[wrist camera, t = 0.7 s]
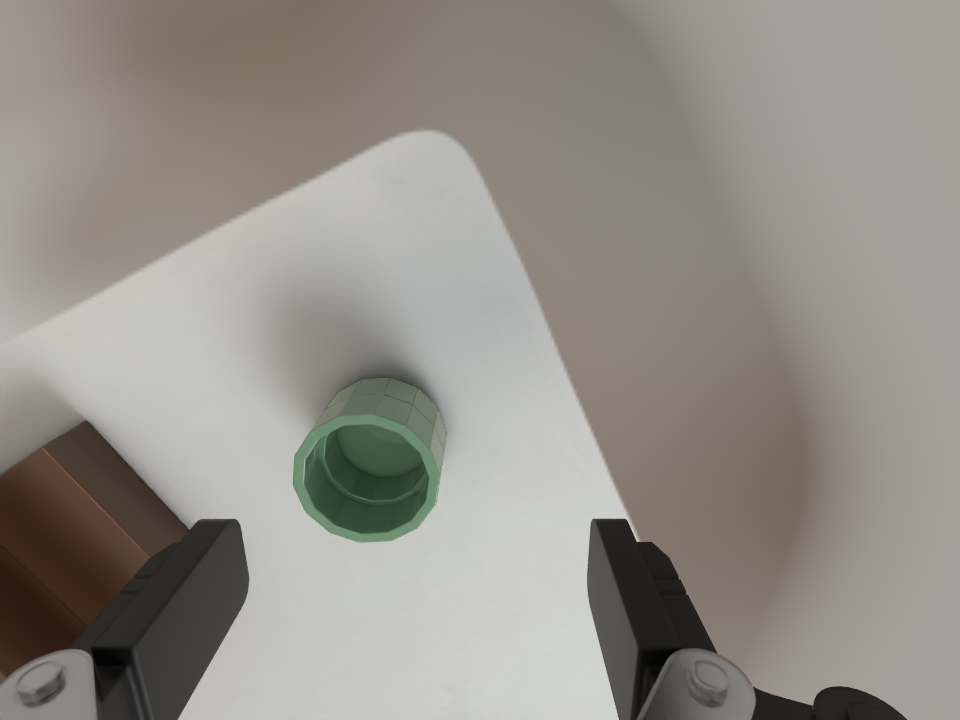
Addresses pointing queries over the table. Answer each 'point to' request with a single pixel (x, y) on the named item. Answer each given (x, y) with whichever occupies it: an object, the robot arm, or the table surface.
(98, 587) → the wooden stair steps
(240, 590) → the robot arm
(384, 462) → the cup
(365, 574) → the table surface
